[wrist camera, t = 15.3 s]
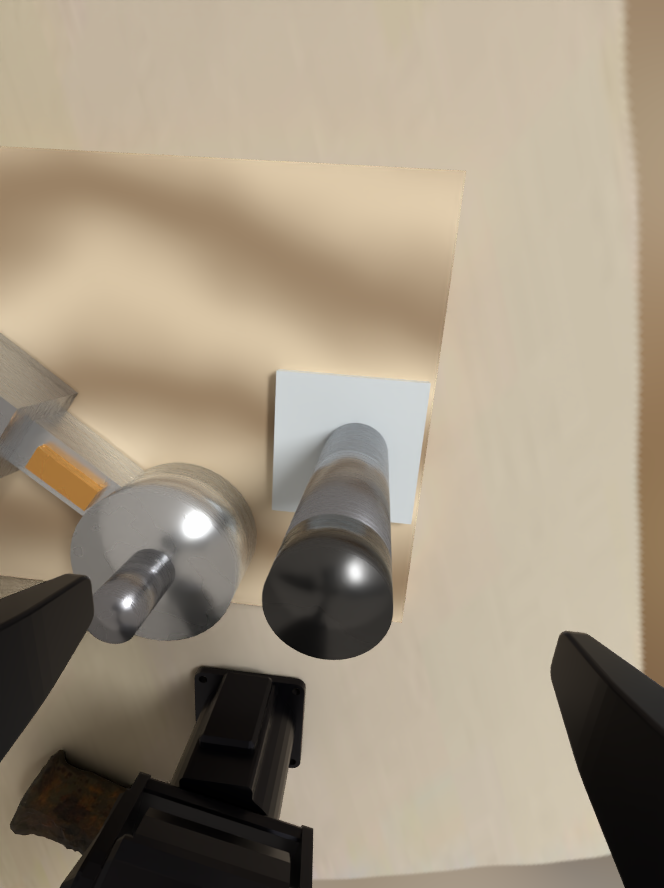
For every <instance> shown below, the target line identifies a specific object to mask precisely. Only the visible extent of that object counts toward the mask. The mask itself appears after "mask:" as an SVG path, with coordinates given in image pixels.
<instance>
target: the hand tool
mask: <svg viewBox="0 0 664 888" xmlns="http://www.w3.org/2000/svg"><path fill="white" fill-rule="evenodd" d="M126 789H127V788H125V787H122V786H120V785H118V784H115V783H113V782H111V781H108V780H106V779H105V778H103V777H100V776H98V775H96V774H94V773H93V772H89V771H83V770H80V769H78V768H76V767H74V766H72V765H70V764H68V763H67V762H66V760H65V752H64V751H63V750H59V751H58V752H57V753H56V754H55V755H53V756H51V758H50V760H49V761H48V763H47V764H46V765H45V766H44V767H43V769H42V770H41V772H40V773H39V775H38V776H37V777H36V779H35V780H34V781H33V783H32V784H31V786H30V787H29V789H28V790H27V792H26V793H25V795H24V796H23V798H22V800H21V801H20V804H19V806H18V808H17V811H16V813H15V815H14V817H13V819H12V821H11V823H10V828H11V830H12V831H13V832H14V833H15V834H20V835H28V834H35V835H37V836H43V837H46V838H48V839H51V840H53V841H55V842H58V843H61V844H63V845H64V846H65V847H66V848H67V849H73V850H74V851H79V852H80V853H81V854H82V855H83V854H84V853H85V851H86V850H87V849H88V847H89V846H90V844H91V843H92V842H93V840H94V839H95V837H96V836H97V834H98V833H99V831H100V829H101V828H102V826H103V824H104V822H105V820H106V819H107V817H108V815H109V813H110V811H111V809H112V807H113V805H114V803H115V801H116V800H117V798H118V796H119V794H120V793H124V792H125V791H126Z"/></svg>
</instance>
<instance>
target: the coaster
mask: <svg viewBox="0 0 664 888" xmlns="http://www.w3.org/2000/svg"><path fill="white" fill-rule="evenodd" d="M430 386H431V383H430V382H429V381H418V380H406V379H394V378H382V377H370V376H358V375H346V374H334V373H322V372H310V371H298V370H286V369H278V370H277V371H276V396H275V427H274V458H273V488H272V510H277V511H287V512H296V509H297V507H298V505H299V503H300V500H301V498H302V496H303V493H304V491H305V489H306V486H307V484H308V482H309V480H310V477H311V475H312V473H313V470H314V468H315V466H316V463H317V461H318V459H319V457H320V454H321V452H322V450H323V447H324V445H325V443H326V440H327V439H328V437H329V436H330V434H331V433H332V432H333V431H334V430H335V429H337V428H338V427H340V426H342V425H345V424H349V423H362V424H366V425H368V426H371V427H372V428H374V429H375V430H377V431H378V432H379V433H380V434H381V435H382V437H383V438H384V440H385V442H386V444H387V448H388V462H389V492H390V522H393V523H403V524H411V522H412V515H413V508H414V501H415V493H416V486H417V479H418V472H419V465H420V458H421V450H422V443H423V436H424V429H425V422H426V414H427V407H428V400H429V393H430Z"/></svg>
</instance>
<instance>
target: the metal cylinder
mask: <svg viewBox="0 0 664 888" xmlns="http://www.w3.org/2000/svg"><path fill="white" fill-rule="evenodd" d="M262 607H263V611H264V615H265V617H266V620H267V622H268V624H269V625H270V627H271V628H272V630H273V631H274V633H275V634H276V635H277V636H278V637H279V638H280V639H281V640H282V641H283V642H285V643H286V644H287V645H288V646H290V647H291V648H293V649H295V650H297V651H299V652H300V653H303V654H305V655H308V656H311V657H315V658H320V659H327V660H341V659H348V658H352V657H356V656H358V655H361V654H363V653H365V652H367V651H369V650H371V649H372V648H373V647H375V646H376V645H377V644H378V643H379V642H380V641H381V640H382V639H383V638H384V636H385V635H386V633H387V631H388V630H389V628H390V625H391V622H392V617H393V582H392V552H391V522H390V492H389V462H388V448H387V444H386V442H385V440H384V438H383V437H382V435H381V434H380V433H379V432H378V431H377V430H375V429H374V428H372V427H371V426H368V425H366V424H362V423H349V424H345V425H342V426H340V427H338V428H337V429H335V430H334V431H333V432H332V433H331V434H330V436H329V437H328V439H327V440H326V443H325V445H324V447H323V450H322V452H321V454H320V457H319V459H318V461H317V463H316V466H315V468H314V470H313V473H312V475H311V477H310V480H309V482H308V484H307V486H306V489H305V491H304V493H303V496H302V498H301V500H300V503H299V505H298V507H297V509H296V512H295V514H294V516H293V519H292V521H291V523H290V526H289V528H288V530H287V532H286V535H285V537H284V539H283V542H282V544H281V546H280V549H279V551H278V553H277V555H276V558H275V560H274V562H273V565H272V567H271V569H270V572H269V574H268V576H267V578H266V581H265V583H264V587H263V591H262Z"/></svg>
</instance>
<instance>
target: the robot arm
mask: <svg viewBox="0 0 664 888" xmlns="http://www.w3.org/2000/svg"><path fill="white" fill-rule="evenodd" d="M93 617H94V602H93V593H92V584H91V580H90V578H89V577H88V576H86V575H80V574H71V573H68V574H64V575H61V576H58V577H56V578H53V579H51V580H48V581H46V582H43V583H40V584H38V585H35V586H33V587H30V588H28V589H25V590H22V591H20V592H17V593H15V594H12V595H10V596H7V597H4V598H2V599H0V762H1V761H2V759H3V758H4V757H5V755H6V754H7V752H8V751H9V750H10V748H11V747H12V746H13V744H14V743H15V741H16V740H17V739H18V737H19V736H20V734H21V733H22V732H23V730H24V729H25V728H26V726H27V725H28V723H29V722H30V721H31V719H32V718H33V716H34V715H35V714H36V712H37V711H38V709H39V708H40V706H41V705H42V704H43V702H44V701H45V699H46V698H47V696H48V694H49V693H50V691H51V690H52V688H53V687H54V685H55V683H56V682H57V680H58V678H59V677H60V675H61V673H62V672H63V670H64V668H65V667H66V665H67V663H68V662H69V660H70V658H71V656H72V655H73V653H74V651H75V650H76V648H77V646H78V645H79V643H80V641H81V640H82V638H83V636H84V635H85V633H86V631H87V630H88V628H89V626H90V625H91V623H92V620H93ZM203 676H205V677H203ZM551 680H552V684H553V687H554V690H555V694H556V697H557V701H558V704H559V707H560V711H561V714H562V718H563V721H564V724H565V728H566V731H567V734H568V738H569V741H570V745H571V748H572V751H573V755H574V758H575V761H576V764H577V767H578V770H579V773H580V776H581V778H582V781H583V784H584V786H585V789H586V792H587V794H588V797H589V799H590V802H591V804H592V807H593V809H594V812H595V814H596V817H597V819H598V822H599V824H600V827H601V829H602V832H603V834H604V837H605V839H606V842H607V844H608V847H609V849H610V852H611V854H612V857H613V859H614V862H615V864H616V867H617V869H618V872H619V874H620V877H621V879H622V881H623V884H624V887H625V888H664V688H663V687H662V686H660V685H659V684H657V683H656V682H655V681H653V680H652V679H650V678H649V677H648V676H646V675H645V674H643V673H642V672H641V671H639V670H638V669H636V668H635V667H633V666H632V665H631V664H629V663H628V662H626V661H625V660H624V659H622V658H621V657H619V656H618V655H617V654H615V653H614V652H612V651H611V650H609V649H608V648H607V647H605V646H604V645H602V644H601V643H600V642H598V641H597V640H595V639H594V638H593V637H591V636H590V635H588V634H586V633H580V632H572V631H564V632H562V633H561V634H560V636H559V638H558V642H557V645H556V649H555V653H554V656H553V660H552V664H551ZM295 688H298V689H295ZM305 690H306V686H305V683H304V682H303V681H302V680H299V679H294V678H286V677H278V676H270V675H263V674H255V673H247V672H239V671H231V670H224V669H216V668H208V667H202V668H199V670H198V671H197V673H196V675H195V710H196V725H195V727H194V729H193V732H192V734H191V736H190V739H189V741H188V743H187V746H186V748H185V750H184V753H183V755H182V757H181V760H180V762H179V764H178V767H177V769H176V771H175V774H174V776H173V778H172V781H171V783H170V784H168V783H165V782H162V781H159V780H156V779H153V778H151V775H149V774H146V773H143V772H140V773H139V775H138V776H137V778H136V780H135V782H134V783H133V785H132V787H131V788H127V789H126V791H125V792H124V793H120V794H119V796H118V798H117V800H116V801H115V803H114V805H113V807H112V809H111V811H110V813H109V815H108V817H107V819H106V820H105V822H104V824H103V826H102V828H101V829H100V831H99V833H98V834H97V836H96V837H95V839H94V840H93V842H92V843H91V844H90V846H89V847H88V849H87V850H86V851H85V853H84V854H83V855H82V857H81V858H80V859H79V861H78V862H77V864H76V865H75V866H74V868H73V869H72V870H71V872H70V873H69V875H68V876H67V877H66V879H65V880H64V881H63V883H62V885H61V886H60V888H312V863H313V828H310V827H307V826H304V825H302V826H301V827H299V826H296V825H293V824H290V823H287V822H284V821H281V820H279V817H280V812H281V806H282V801H283V795H284V790H285V784H286V779H287V773H288V768H296V767H298V766H299V765H300V760H301V750H302V735H303V720H304V705H305Z"/></svg>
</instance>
